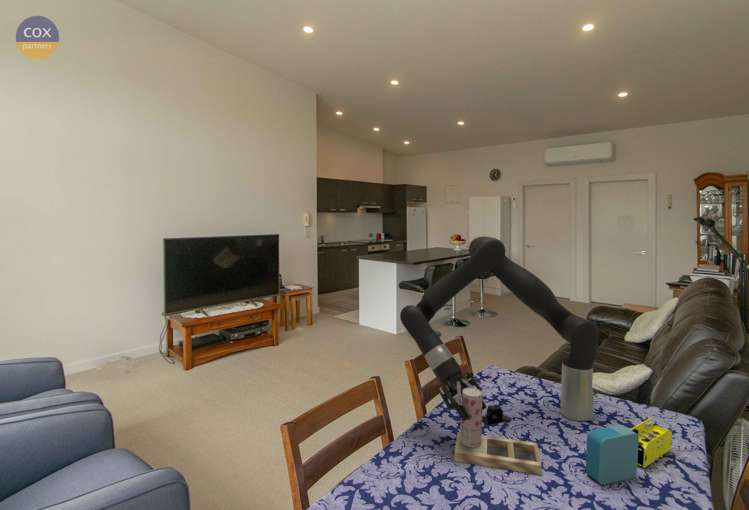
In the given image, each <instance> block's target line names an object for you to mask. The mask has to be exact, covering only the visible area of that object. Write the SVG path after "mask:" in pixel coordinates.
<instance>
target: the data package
mask: <svg viewBox="0 0 749 510" xmlns="http://www.w3.org/2000/svg"><path fill="white" fill-rule="evenodd" d="M638 442H639V437H638V435H637V434H636V433H635V432H633V431H631V430H630V429H629V428H627V427H626V426H624V425H623V424H617V425H612V426H608V427H601V428H595V429H590V430H589V432H588V433H587V435H586V450H585V451H586V453H585V455H586V456H585V473H586V474H587V475H588V476H589V477H591V478H592V479H594V481H596V482H598V483H599V484H600V485H602V486H606V485H609V484H613V483H617V482H621V481H625V480H631V479H634V478H635V477H636V475H637V473H638V465H637V461H638Z"/></svg>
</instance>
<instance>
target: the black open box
mask: <svg viewBox="0 0 749 510" xmlns="http://www.w3.org/2000/svg"><path fill="white" fill-rule="evenodd" d="M503 411H504V410H503V408H502V407H501V406H499V405H498V404H493V405H488V406H487V408H486V415H482V423H483V424H484V425H485V426H490V425H491V426H492V425H496V424H501V423H506V422H507V423H508V422H512V421H513V420H512V419H511V418H509V417H508V416H506V414H504V412H503Z"/></svg>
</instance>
